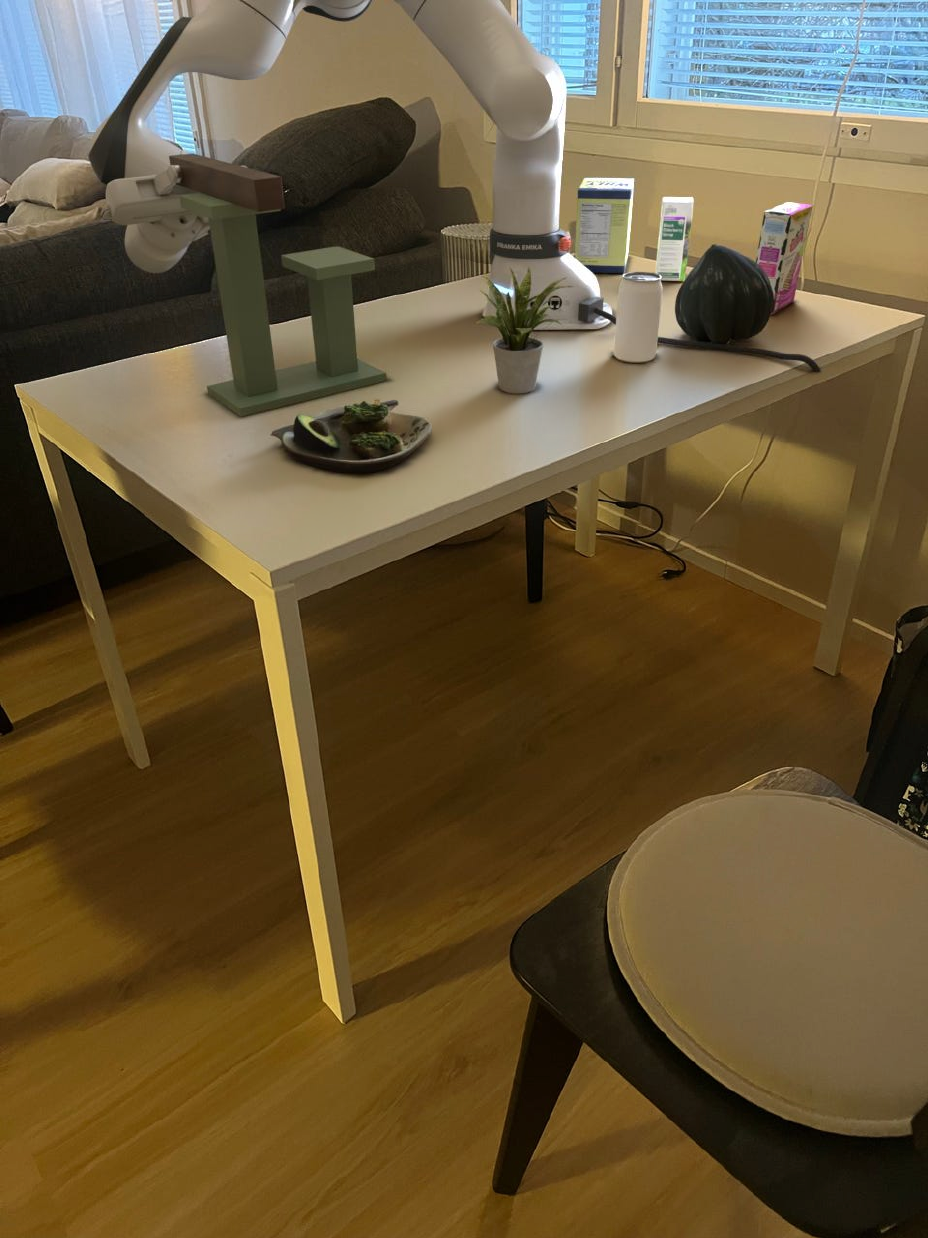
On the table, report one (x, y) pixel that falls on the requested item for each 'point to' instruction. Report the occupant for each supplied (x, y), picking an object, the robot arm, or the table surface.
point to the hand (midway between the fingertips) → (195, 168)
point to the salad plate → (354, 437)
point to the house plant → (518, 334)
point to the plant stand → (250, 322)
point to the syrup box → (674, 238)
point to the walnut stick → (231, 182)
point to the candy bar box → (783, 249)
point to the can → (638, 317)
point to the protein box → (604, 223)
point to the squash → (724, 298)
